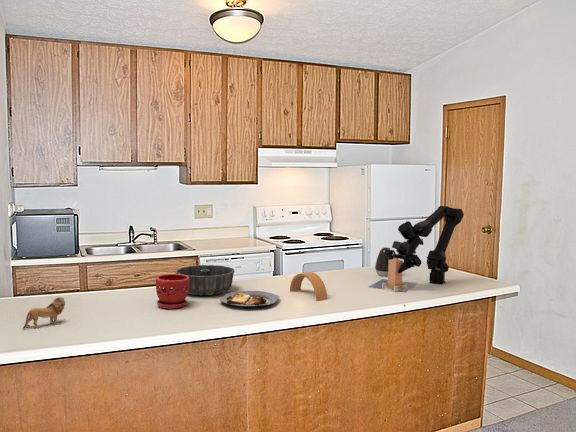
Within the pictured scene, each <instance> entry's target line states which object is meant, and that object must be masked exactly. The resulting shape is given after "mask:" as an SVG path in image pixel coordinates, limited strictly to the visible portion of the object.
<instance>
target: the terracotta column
mask: <svg viewBox="0 0 576 432" xmlns="http://www.w3.org/2000/svg"><path fill="white" fill-rule="evenodd" d="M403 262H404V260H403V259H399V258H398V259H397V258H393V259H391V260H389V262H388V277H387V280H388V285H392V286H394V287H395V286H400V285H402V282H403V272H401V273H400V274H399V273H398V270H399V268H400V267H401V265H402V264H403Z"/></svg>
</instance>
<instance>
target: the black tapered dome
mask: <svg viewBox="0 0 576 432" xmlns="http://www.w3.org/2000/svg"><path fill="white" fill-rule="evenodd" d="M387 249H390V250H391V247H385V246H384V247H382V248H381V249H380V250H379V252H378V255H377V257H376V261H375V267H374V269H375V273H376V274H377V275H378V276H380V277H387V278H388V270H387V269H388V262H389V258H388V257H387V256H386V254H385V251H386V250H387Z"/></svg>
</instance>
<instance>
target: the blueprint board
mask: <svg viewBox="0 0 576 432" xmlns="http://www.w3.org/2000/svg"><path fill="white" fill-rule="evenodd" d="M382 283H388V279H384V278H381V279H379V280H378V281H375V282H374V283H372V284H371V285H369V286H368V289H369V288H371V289H379V290H384V291H386V290H385V289H382ZM402 283H403V284H406V285H408V287H407V290H404V291H399V293H407V292H408V291H410V290H411V289H413V288H414V287H415V286H417V285H418V283H417V282H415V283H414V282H407V281H402Z"/></svg>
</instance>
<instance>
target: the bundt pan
mask: <svg viewBox="0 0 576 432" xmlns="http://www.w3.org/2000/svg"><path fill="white" fill-rule="evenodd" d="M174 272H175V273H174V274H181V275H186V276H188V277H189V290H188V294H187V295H192V296H200V297H202V296H203V295H205V296H211V295H214V296H217V295H219V294H223V293H225V292H227V291H229V290H230V289H231V288H232V285H233V281H234V280H233V279H234V274H235V273H236V272H235V268H234V267H230V266H225V265H220V264H219V265H217V264H216V265H214V264H207V265H206V264H195V265H188V266H182V267H179V268H177V269H175V271H174Z"/></svg>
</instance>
